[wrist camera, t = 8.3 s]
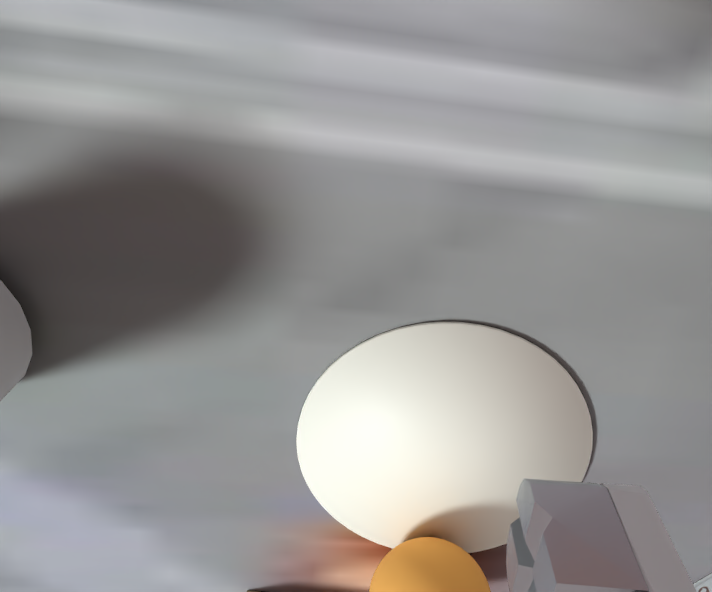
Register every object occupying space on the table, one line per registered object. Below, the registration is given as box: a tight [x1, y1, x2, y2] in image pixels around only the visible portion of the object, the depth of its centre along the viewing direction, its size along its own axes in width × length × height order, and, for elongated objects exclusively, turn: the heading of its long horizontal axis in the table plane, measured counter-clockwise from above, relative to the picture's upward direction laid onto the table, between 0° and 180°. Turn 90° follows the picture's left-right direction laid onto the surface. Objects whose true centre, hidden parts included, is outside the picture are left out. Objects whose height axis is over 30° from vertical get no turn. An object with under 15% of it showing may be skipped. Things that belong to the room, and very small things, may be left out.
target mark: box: [296, 322, 593, 553], centre depth 28 cm, size 13×13×1 cm
